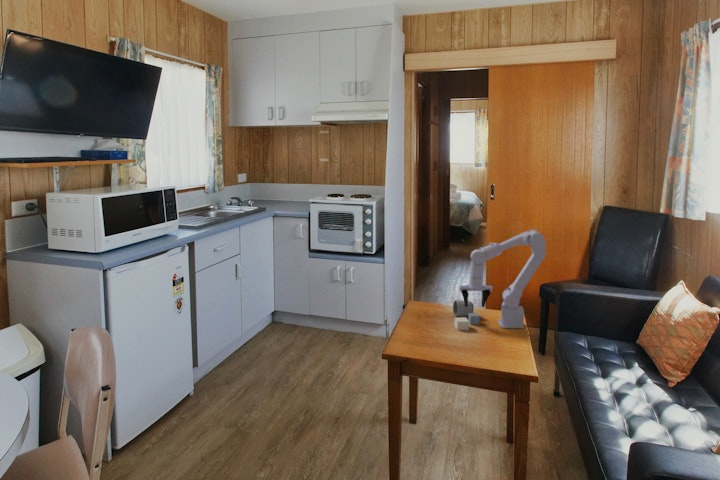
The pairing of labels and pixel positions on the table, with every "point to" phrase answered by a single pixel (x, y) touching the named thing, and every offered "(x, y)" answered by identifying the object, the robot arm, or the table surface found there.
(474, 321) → the blue cube
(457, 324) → the cream block
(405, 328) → the table surface
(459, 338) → the table surface
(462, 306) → the ceramic mug
